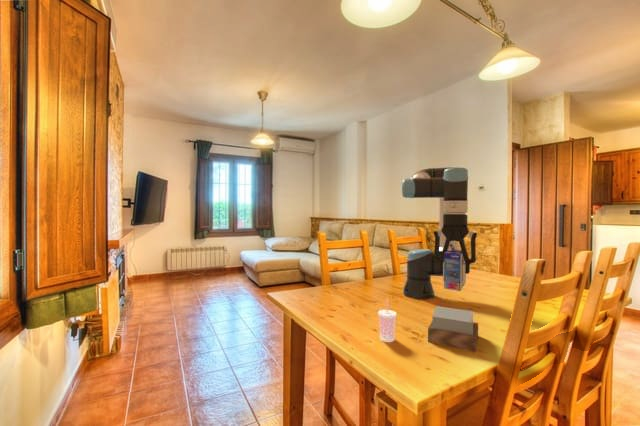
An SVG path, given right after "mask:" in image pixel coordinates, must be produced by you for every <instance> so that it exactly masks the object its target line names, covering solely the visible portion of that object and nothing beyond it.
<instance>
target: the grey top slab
mask: <svg viewBox="0 0 640 426" xmlns="http://www.w3.org/2000/svg"><path fill="white" fill-rule="evenodd" d="M473 322H474V311H473V310H466V309H460V308H452V307H446V306H439V305H436V307H435V308H434V312H433V314H432V321H431V323H432V328H433V329H439V330H444V331H450V332H456V333H461V334H467V335H472V336H473Z"/></svg>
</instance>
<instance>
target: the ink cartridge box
mask: <svg viewBox="0 0 640 426" xmlns="http://www.w3.org/2000/svg"><path fill="white" fill-rule="evenodd" d="M450 247H451V249H450V250H448V251H447V252H445V253H444V281H443V289H445V290H451V291H456V292H461V291H462V289H463V288H464V286H465V285H466V283H465V284H462V283H463V263H465V260H464V257H463V253H462V250H461V249H460V250H455V249H454V247H453V245H452V244H450ZM452 247H453V248H452Z"/></svg>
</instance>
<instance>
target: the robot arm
mask: <svg viewBox="0 0 640 426" xmlns="http://www.w3.org/2000/svg"><path fill="white" fill-rule="evenodd" d="M468 171H469V170H468V169H467V168H466V167H455V166H453V167H452V166H451V167H433V168H432V167H430V168H425V169H421V170H419V171H416V172H414V173H413V174H412V175H411V176H410V177H409V178H404V179H403V180H402V183H401V184H402V185H401V193H402V197H403V198H406V199H407V198H408V199H415V198H416V199H419V198H420V199H421V198H422V199H423V198H425V199H426V198H428V199H429V198H432V199H433V198H438V199H439V210H438V211H439V215H438V216H439V221H438V223H439V228H438V230H434V231H433V235H434V252H432V249H429V248H420V249H419V248H418V249H411V250H409V251H408V252H407V255H406V256H407V257H406V280H405V284H404V286H403V289H402V290H403V292H402V294H403V295H404V296H405V297H408V298H412V299H417V300H428V299H430V300H431V299H433V298H435V290H434V287H433V284H432V280H431V278H432V277H431V276H433V277H442V282H444V253H445V252H447V251H448V250H450V249H451V247H450V244H452V245H453V247H454V249H455V250H462V253H463V257H464V260H465V263H463V283H462V284H465V285H466V283H467V274H470V272H471V271H470V270H471V264H474V263H476V261H477V249H476V248H477V247H476V245H477V243H476V239H477V236H478V233H477V232H476V231H475V232H474V231H471V230H470V229H469V227H468V215H467V214H466V213H468V204H469V202H468V194H469V193H468V190H469V186H468V184H469V182H468V181H469V174H468ZM467 235H468V237H469V238H470V257H469V254H468V251H467V247H466V243H465V238H466V237H467ZM459 246H460V248H459ZM453 247H452V248H453Z"/></svg>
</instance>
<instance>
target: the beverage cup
mask: <svg viewBox="0 0 640 426" xmlns="http://www.w3.org/2000/svg"><path fill="white" fill-rule="evenodd" d="M377 315H378V321H379V339H380V341H382V342H385V343H392V342H394V341H395V331H396V319H397V318H396V317H397V312H396V311H395V310H391V309H389V298H388V297H386V309H379V310H378V312H377Z"/></svg>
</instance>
